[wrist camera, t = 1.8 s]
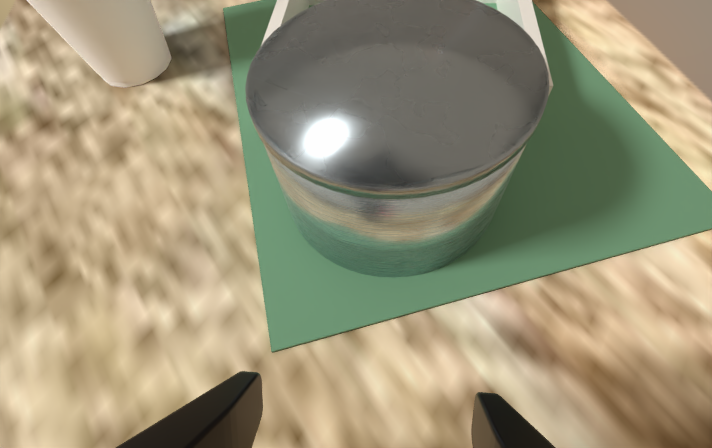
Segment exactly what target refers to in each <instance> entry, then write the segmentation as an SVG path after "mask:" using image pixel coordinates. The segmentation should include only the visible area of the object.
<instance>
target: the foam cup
mask: <svg viewBox="0 0 712 448" xmlns="http://www.w3.org/2000/svg"><path fill="white" fill-rule="evenodd" d="M27 1H28V2H29V3H30V4H31V5H32V6H33V7H34V8H35V9H36V11H37V12H38V13H39V14H40V15H41V16H42V17H43V18H44V19H45V20H46V21H47V22H48V23H49V24H50V25H51V26H52V27H53V28H54V29H55V30H56V31H57V32H58V33H59V34H60V35H61V36H62V37H63V39H64V40H65V41H66V42H67V43H68V44H69V45H70V46H71V47H72V48H73V49H74V50H75V51H76V52H77V53H78V54H79V55H80V56H81V57H82V58H83V59H84V60H85V61H86V62H87V63H88V64H89V65H90V67H91V68H92V69H93V70H94V71H95V72H96V73H97V74H98V75H100V76H101V77H102V78H103V80H105V81H106V82H107V83H109V84H110V85H111V86H117V87H124V88H126V87H131V86H137V85H142V84H144V83H146V82H148V81H150V80H153V79H155V78H157V77H158V76H159V75H160V74H161V73H162V72H163V71H165V70H166V69H167V67H168V65H169V63H170V61H171V55H170V51H169V49H168V46H167V43H166V40H165V37H164V35H163V32H162V29H161V27H160V24H159V21H158V19H157V16H156V14H155V11H154V8H153V6H152V3H151V0H27Z"/></svg>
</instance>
